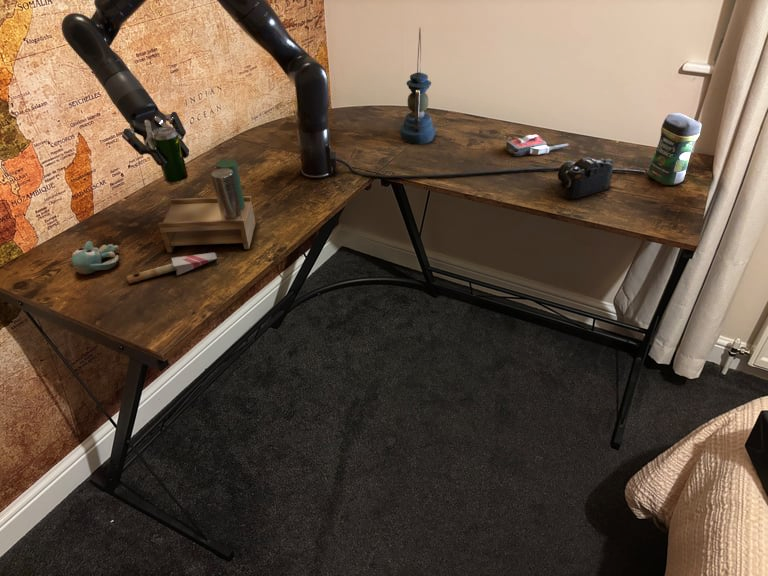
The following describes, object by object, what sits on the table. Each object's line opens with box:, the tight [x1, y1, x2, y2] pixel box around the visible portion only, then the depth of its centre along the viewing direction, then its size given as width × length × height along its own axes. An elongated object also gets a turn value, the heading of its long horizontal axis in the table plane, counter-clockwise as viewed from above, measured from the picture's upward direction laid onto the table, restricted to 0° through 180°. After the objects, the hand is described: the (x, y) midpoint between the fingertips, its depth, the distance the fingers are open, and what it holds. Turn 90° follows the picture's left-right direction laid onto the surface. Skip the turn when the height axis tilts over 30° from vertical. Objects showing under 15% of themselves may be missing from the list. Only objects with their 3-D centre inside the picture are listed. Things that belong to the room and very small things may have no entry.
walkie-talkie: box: [505, 133, 569, 157], centre depth 177 cm, size 9×4×20 cm
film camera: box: [557, 156, 615, 200], centre depth 154 cm, size 18×12×10 cm
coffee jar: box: [647, 112, 702, 186], centre depth 156 cm, size 10×8×19 cm
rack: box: [158, 158, 257, 253], centre depth 135 cm, size 20×12×19 cm, turn 93°
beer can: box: [152, 126, 189, 185], centre depth 127 cm, size 5×5×12 cm
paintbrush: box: [126, 252, 218, 284], centre depth 128 cm, size 4×3×20 cm
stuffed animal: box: [71, 240, 120, 275], centre depth 130 cm, size 11×7×12 cm
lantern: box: [399, 28, 436, 145], centre depth 177 cm, size 14×12×35 cm
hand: (176, 160), depth 126 cm, fingers closed on beer can, 5 cm apart
